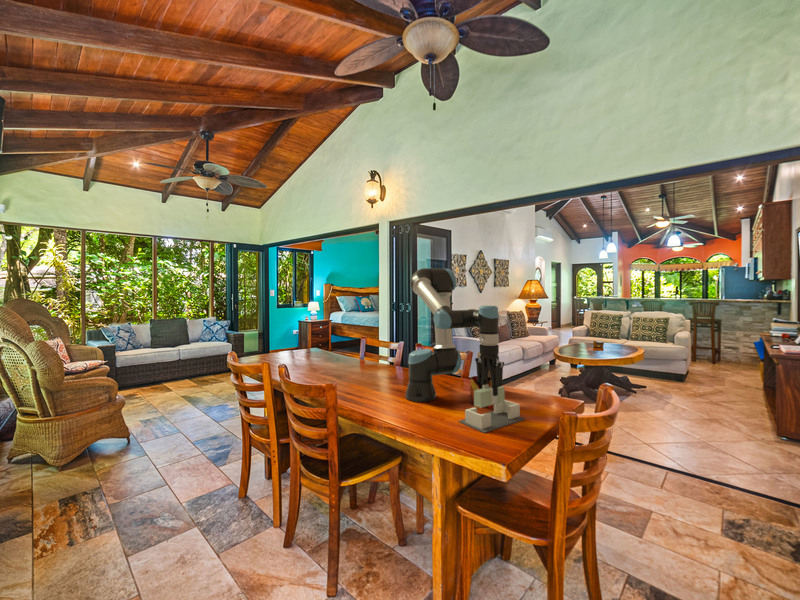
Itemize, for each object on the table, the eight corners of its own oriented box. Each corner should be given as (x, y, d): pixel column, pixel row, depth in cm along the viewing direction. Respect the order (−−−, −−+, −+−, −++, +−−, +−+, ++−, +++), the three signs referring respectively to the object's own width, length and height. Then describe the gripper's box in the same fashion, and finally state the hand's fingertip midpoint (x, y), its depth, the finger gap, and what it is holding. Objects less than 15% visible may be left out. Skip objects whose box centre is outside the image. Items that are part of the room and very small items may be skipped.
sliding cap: (493, 413, 152) (493, 401, 152) (503, 410, 155) (503, 398, 155) (510, 419, 145) (510, 407, 144) (520, 415, 148) (520, 404, 148)
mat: (458, 421, 144) (458, 420, 144) (498, 410, 157) (498, 409, 157) (484, 433, 132) (484, 432, 132) (525, 419, 146) (525, 418, 146)
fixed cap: (465, 422, 143) (465, 409, 142) (474, 419, 145) (474, 407, 145) (481, 429, 135) (481, 416, 135) (491, 426, 138) (491, 413, 138)
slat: (474, 405, 141) (473, 390, 141) (497, 399, 149) (497, 385, 149) (480, 407, 138) (480, 392, 138) (504, 401, 146) (504, 386, 146)
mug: (490, 411, 156) (490, 384, 156) (466, 403, 167) (465, 378, 167) (503, 406, 162) (503, 380, 162) (479, 399, 173) (479, 374, 173)
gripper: (467, 342, 148) (468, 398, 148) (498, 347, 134) (499, 409, 135) (480, 341, 152) (480, 395, 153) (512, 345, 138) (512, 405, 139)
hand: (489, 401), depth 144 cm, fingers closed on slat, 3 cm apart
